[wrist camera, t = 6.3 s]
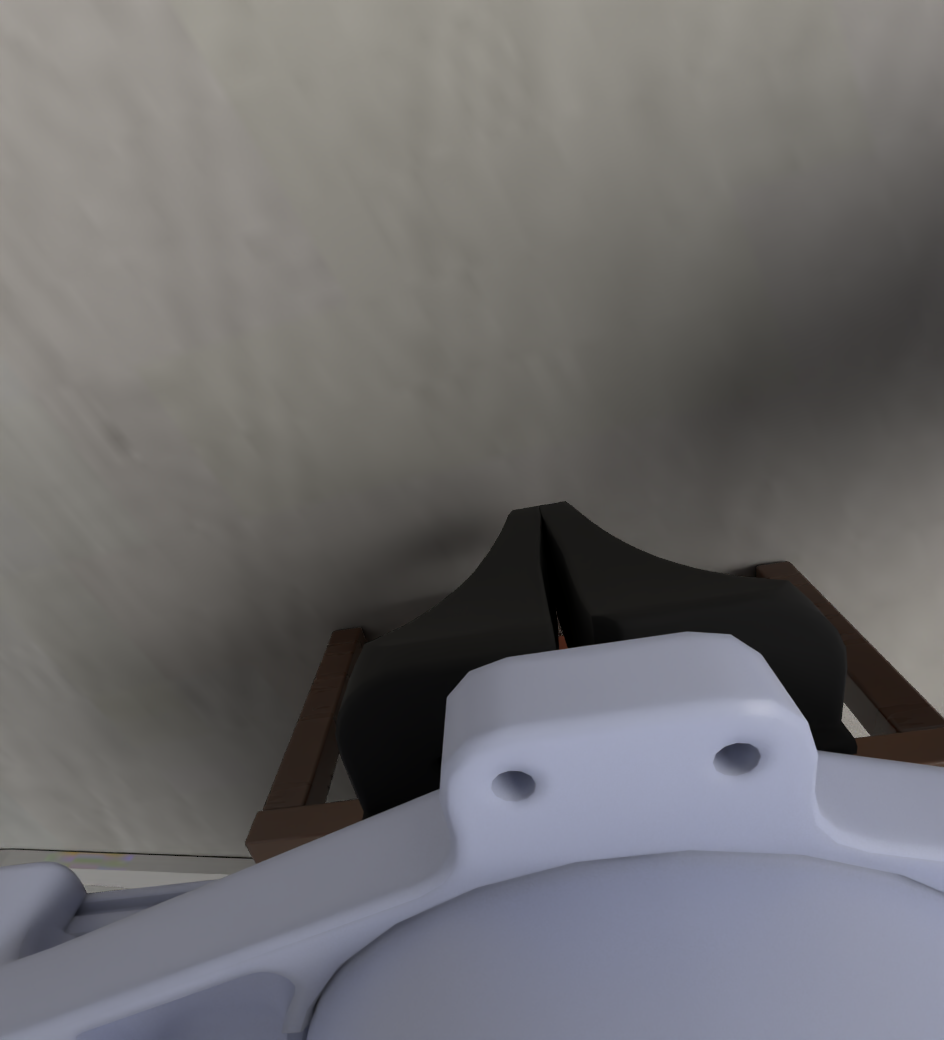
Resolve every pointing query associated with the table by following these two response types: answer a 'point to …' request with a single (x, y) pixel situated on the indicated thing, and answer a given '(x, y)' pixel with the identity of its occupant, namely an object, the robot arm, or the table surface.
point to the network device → (131, 867)
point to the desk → (313, 747)
